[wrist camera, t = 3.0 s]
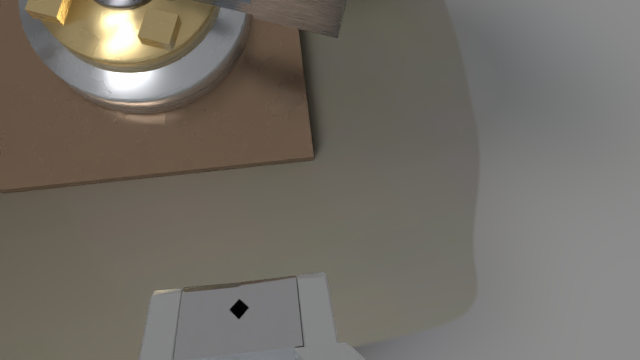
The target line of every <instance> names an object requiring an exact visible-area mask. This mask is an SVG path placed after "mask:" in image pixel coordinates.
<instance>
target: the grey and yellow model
mask: <svg viewBox="0 0 640 360" xmlns="http://www.w3.org/2000/svg"><path fill="white" fill-rule="evenodd" d="M345 6H346V0H28V2H27V5H26V7H25V11H26V12H27V13H28V14H29V15H30V16H31V17H32V18H34V19H39V20H41V22H42V23H43V25H44V26H45V27H46V28H47V29H48V30H49V31H50V32H51V34H52V35H53V36H54V37H55V38H56V39H57V40H58V41H59V42H60V43H61V44H62V45H63V46H64V48H65V49H67V50H68V51H69V52H70V53H71V54H73V55H74V56H75V57H77V58H78V59H80V60H82V61H83V62H85V63H87V64H89V65H91V66H94V67H96V68H100V69H103V70H106V71H112V72H117V73H141V72H147V71H152V70H156V69H159V68H162V67H165V66H168V65H170V64H172V63H174V62H176V61H178V60H180V59H181V58H183V57H185V56H186V55H188V54H189V53H190V52H191V51H193V50H194V49H195V48H196V47H197V46H198V45H199V44H200V43H201V42H202V41H203V40H204V39H205V37H206V36H207V35H208V33H209V32H210V30H211V29H212V27H213V25H214V23H215V21H216V19H217V17H218V14H219V11H220V8H221V7H222V8H227V9H231V10H235V11H239V12H243V13H248V14H252V15H253V18H255V19H259V20H263V21H267V22H272V23H276V24H280V25H284V26H288V27H293V28H297V29H301V30H305V31H310V32H314V33H318V34H322V35H326V36H331V37H335V38H338V35H339V30H340V26H341V22H342V18H343V14H344V10H345Z"/></svg>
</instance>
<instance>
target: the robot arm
mask: <svg viewBox="0 0 640 360" xmlns="http://www.w3.org/2000/svg"><path fill="white" fill-rule="evenodd" d="M139 360H366V359H365V358H364V357H362V356H361V355H360V354H359V353H358V352H357V351H356V350H355V349H354V348H353V347H352V346H350V345H349V344H348V343H347V342H343V343H338V339H337V333H336V327H335V321H334V316H333V310H332V304H331V298H330V292H329V286H328V281H327V275H326V274H325V272H317V273H310V274H302V275H297V280H296V276H288V277H280V278H272V279H263V280H255V281H247V282H241V283H229V284H218V285H207V286H196V287H185V288H182V289H170V290H157V291H154V292H153V294H152V296H151V298H150V302H149V307H148V313H147V318H146V323H145V329H144V334H143V339H142V344H141V350H140V355H139Z"/></svg>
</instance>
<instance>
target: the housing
mask: <svg viewBox="0 0 640 360" xmlns="http://www.w3.org/2000/svg"><path fill="white" fill-rule="evenodd" d="M27 2H28V0H0V192H1V193H11V192H20V191H29V190H39V189H48V188H57V187H67V186H76V185H86V184H95V183H104V182H114V181H123V180H132V179H142V178H151V177H160V176H170V175H179V174H189V173H198V172H207V171H217V170H226V169H235V168H245V167H254V166H263V165H273V164H282V163H291V162H301V161H310V160H313V159H314V154H313V145H312V137H311V129H310V120H309V112H308V104H307V95H306V87H305V79H304V71H303V62H302V54H301V46H300V37H299V29H297V28H293V27H288V26H284V25H280V24H276V23H272V22H267V21H263V20H259V19H255V18H253V15H252V14H248V13H243V12H239V11H235V10H231V9H227V8H222V7H221V8H220V11H219V14H218V17H217V19H216V21H215V23H214V25H213V27H212V29H211V30H210V32H209V33H208V35H207V36H206V37H205V39H204V40H203V41H202V42H201V43H200V44H199V45H198V46H197V47H196V48H195V49H194V50H193V51H191V52H190V53H189V54H188V55H186V56H185V57H183V58H181V59H180V60H178V61H176V62H174V63H172V64H170V65H168V66H165V67H162V68H159V69H156V70H152V71H147V72H141V73H117V72H112V71H106V70H103V69H100V68H96V67H94V66H91V65H89V64H87V63H85V62H83V61H82V60H80V59H78V58H77V57H75V56H74V55H73V54H71V53H70V52H69V51H68V50H67V49H65V48H64V46H63V45H62V44H61V43H60V42H59V41H58V40H57V39H56V38H55V37H54V36H53V35H52V34H51V32H50V31H49V30H48V29H47V28H46V27H45V26H44V25H43V23H42V22H41V20H39V19H34V18H32V17H31V16H30V15H29V14H28V13H27V12H26V11H25V7H26V5H27Z"/></svg>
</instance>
